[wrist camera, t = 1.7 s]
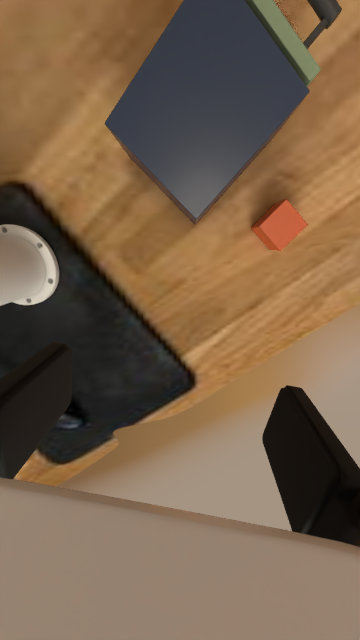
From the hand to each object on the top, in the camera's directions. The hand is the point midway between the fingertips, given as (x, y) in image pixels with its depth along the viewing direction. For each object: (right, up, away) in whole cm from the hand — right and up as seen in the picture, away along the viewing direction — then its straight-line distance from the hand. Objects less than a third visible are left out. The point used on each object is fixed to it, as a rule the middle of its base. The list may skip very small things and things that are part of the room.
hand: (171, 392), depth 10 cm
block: (+14, +17, +23) cm, 32 cm away
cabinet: (+3, +27, +20) cm, 34 cm away
